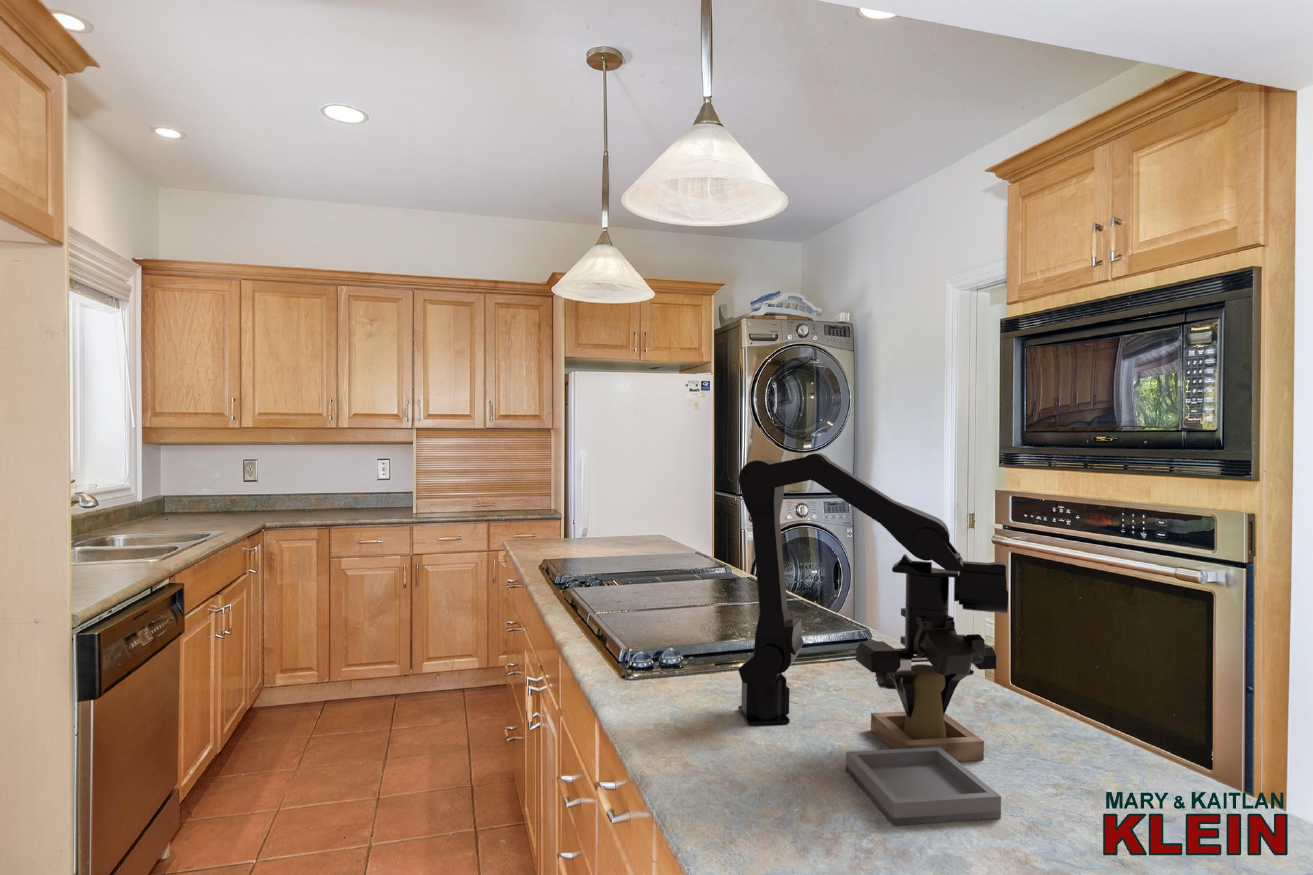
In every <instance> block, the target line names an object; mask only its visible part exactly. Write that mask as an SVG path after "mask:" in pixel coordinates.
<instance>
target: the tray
mask: <svg viewBox="0 0 1313 875" xmlns="http://www.w3.org/2000/svg"><path fill="white" fill-rule="evenodd" d="M845 756H846V758H845V759H846V760H845V763H846V764H845V765H846V766H845V770H846V772H847V774H848V775H849V776H850V777H851V778H852V779H853V781H854V782H855V783H856V784H857V785H858V786H859V788H860V789H862V791H863V792H864V793H865V794H866V795H867V797H868V798H869V799H870V800H871V802H873V804H874V805H875V806H876V807H877V808H878V809H879V810H880V812H882V814H883V815H884V816H885V817H886V819H887V820H888V821H889V822H890V823H891V825H892V826H905V825H919V824H920V825H921V824H922V825H923V824H932V823H933V824H937V823H948V822H949V823H950V822H951V823H953V822H961V821H962V822H964V821H967V822H968V821H979V820H980V821H981V820H992V819H993V820H994V819H1002V817H1001V816H1002V796H1001V795H1000V794H999V793H997V791H995V790H994V789H993V788H991V787H990V786H989V785H988V784H987V783H985V782H984V781H983V780H982V779H980V778H979V777H978V776H977V775H976V774H974V773H973V772H972V771H970V770H969V769H968V768H967V767H965V766H964V765H963V764H962V763H960V761H957V760H955V759H954V758H953V757H952V756H950V755H949V754H948V753H947V752H946V751H944V750H943V749H942V748H941V747H928V748H909V749H891V748H890V749H874V750H856V751H855V750H854V751H853V750H852V751H846V755H845Z"/></svg>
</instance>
